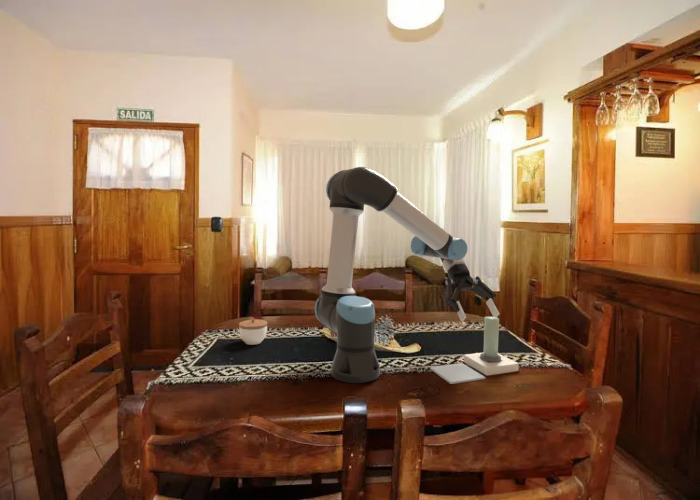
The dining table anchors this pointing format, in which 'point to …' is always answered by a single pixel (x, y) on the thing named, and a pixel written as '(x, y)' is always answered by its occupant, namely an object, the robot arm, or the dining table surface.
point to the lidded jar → (253, 331)
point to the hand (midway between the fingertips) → (480, 317)
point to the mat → (457, 373)
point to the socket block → (491, 364)
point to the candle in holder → (491, 340)
